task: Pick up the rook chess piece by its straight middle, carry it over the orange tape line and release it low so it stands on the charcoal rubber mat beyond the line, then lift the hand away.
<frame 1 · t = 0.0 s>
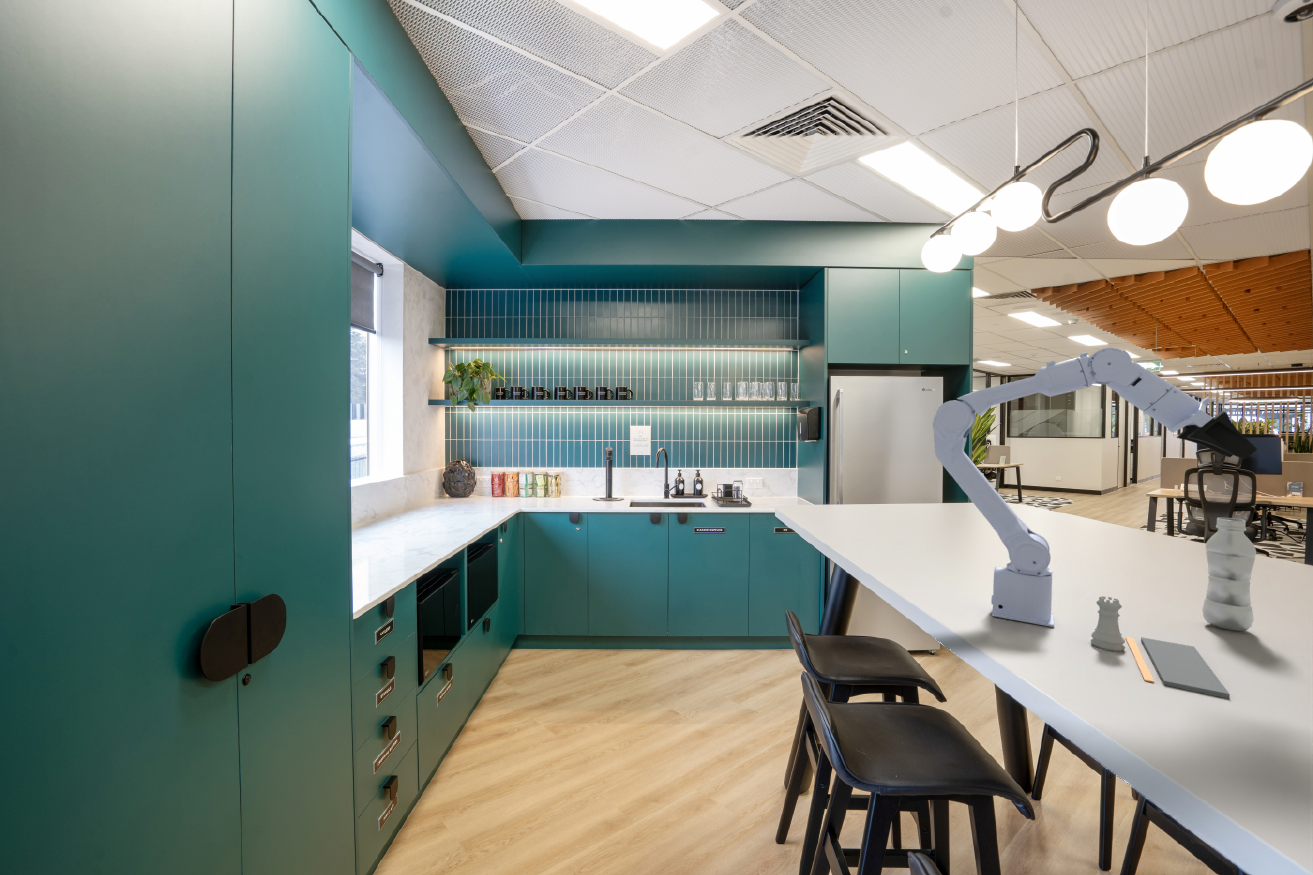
hand: (1242, 453, 88), 32 cm above the table, tool tilted 50°, fingers open, 7 cm apart
throw line: (1138, 658, 86), on the table
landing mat: (1179, 666, 83), on the table
plastic bottle: (1226, 629, 100), on the table
rook chess piece: (1107, 648, 90), on the table
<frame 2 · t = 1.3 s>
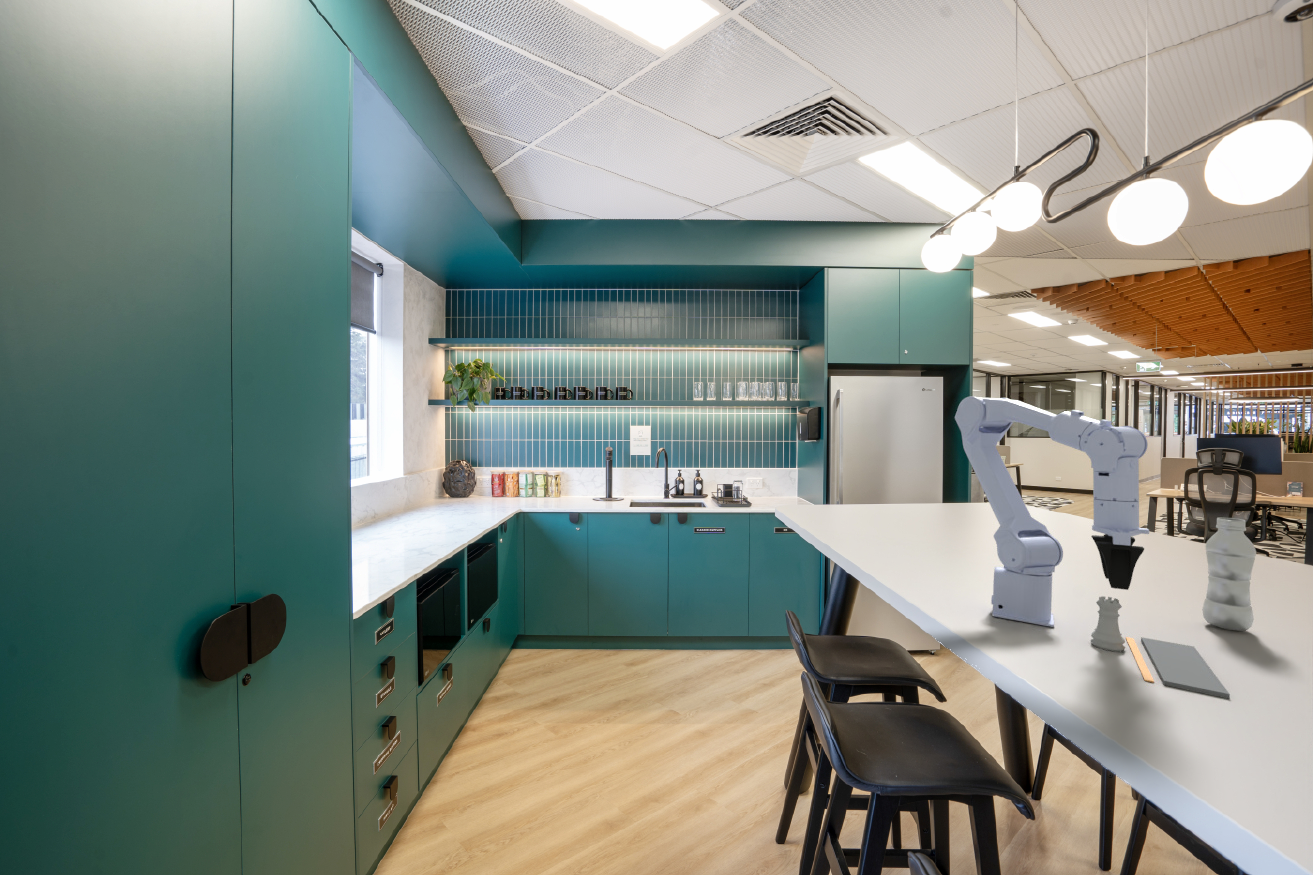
hand: (1116, 583, 89), 11 cm above the table, tool pointing down, fingers open, 7 cm apart
nothing on the table moved.
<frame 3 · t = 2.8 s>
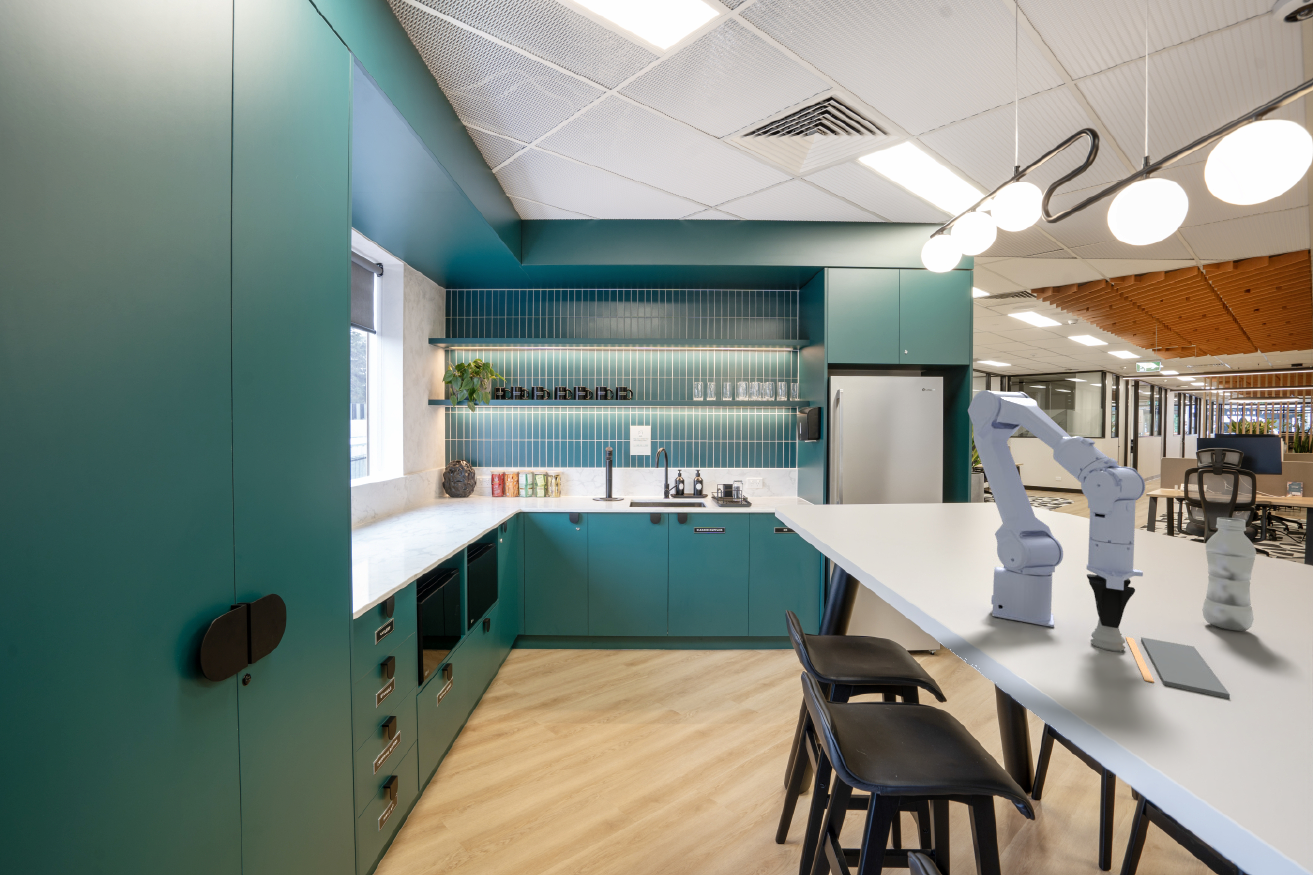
hand: (1108, 623, 90), 4 cm above the table, tool pointing down, fingers closed on rook chess piece, 3 cm apart
rook chess piece: (1107, 647, 90), on the table, touching gripper
everything else where it was.
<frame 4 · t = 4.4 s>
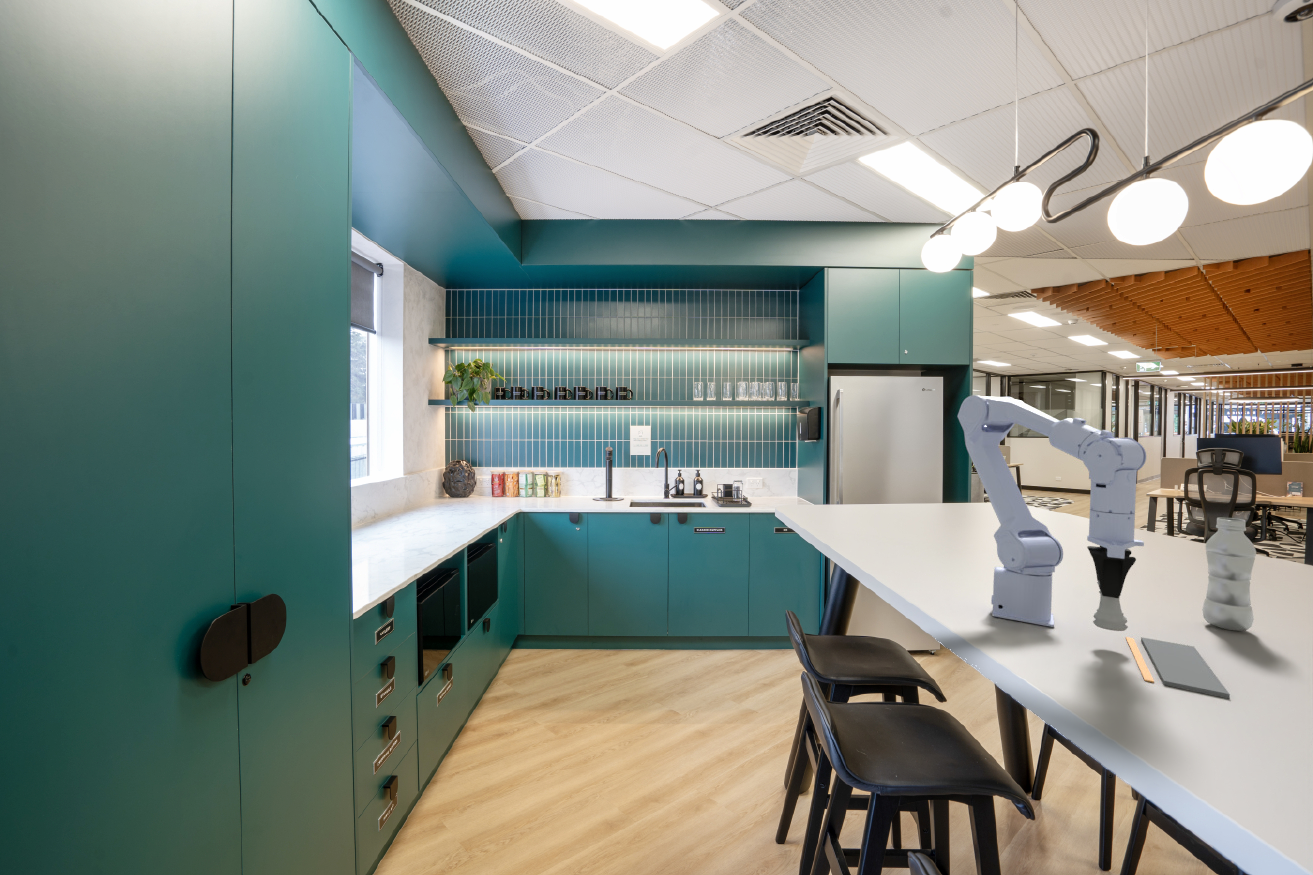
hand: (1109, 593, 90), 9 cm above the table, tool pointing down, fingers closed on rook chess piece, 3 cm apart
rook chess piece: (1110, 628, 90), point 3 cm above the table, touching gripper
everything else where it was.
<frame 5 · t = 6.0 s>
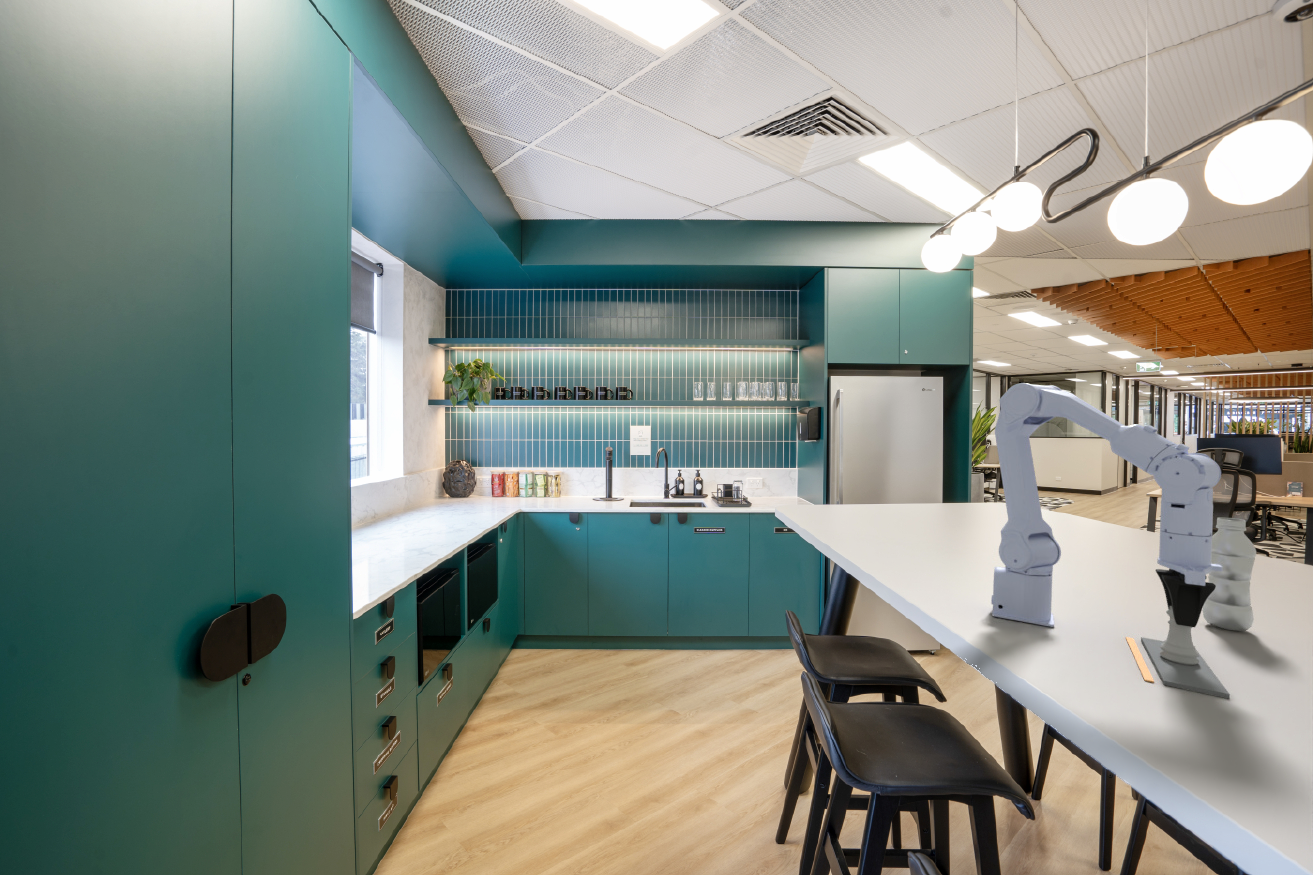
hand: (1182, 621, 84), 7 cm above the table, tool pointing down, fingers closed on rook chess piece, 3 cm apart
rook chess piece: (1178, 661, 84), resting on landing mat, touching gripper
everything else where it was.
when the fingers open (6 cm above the table, at t = 6.9 s): rook chess piece stays where it is, resting on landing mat.
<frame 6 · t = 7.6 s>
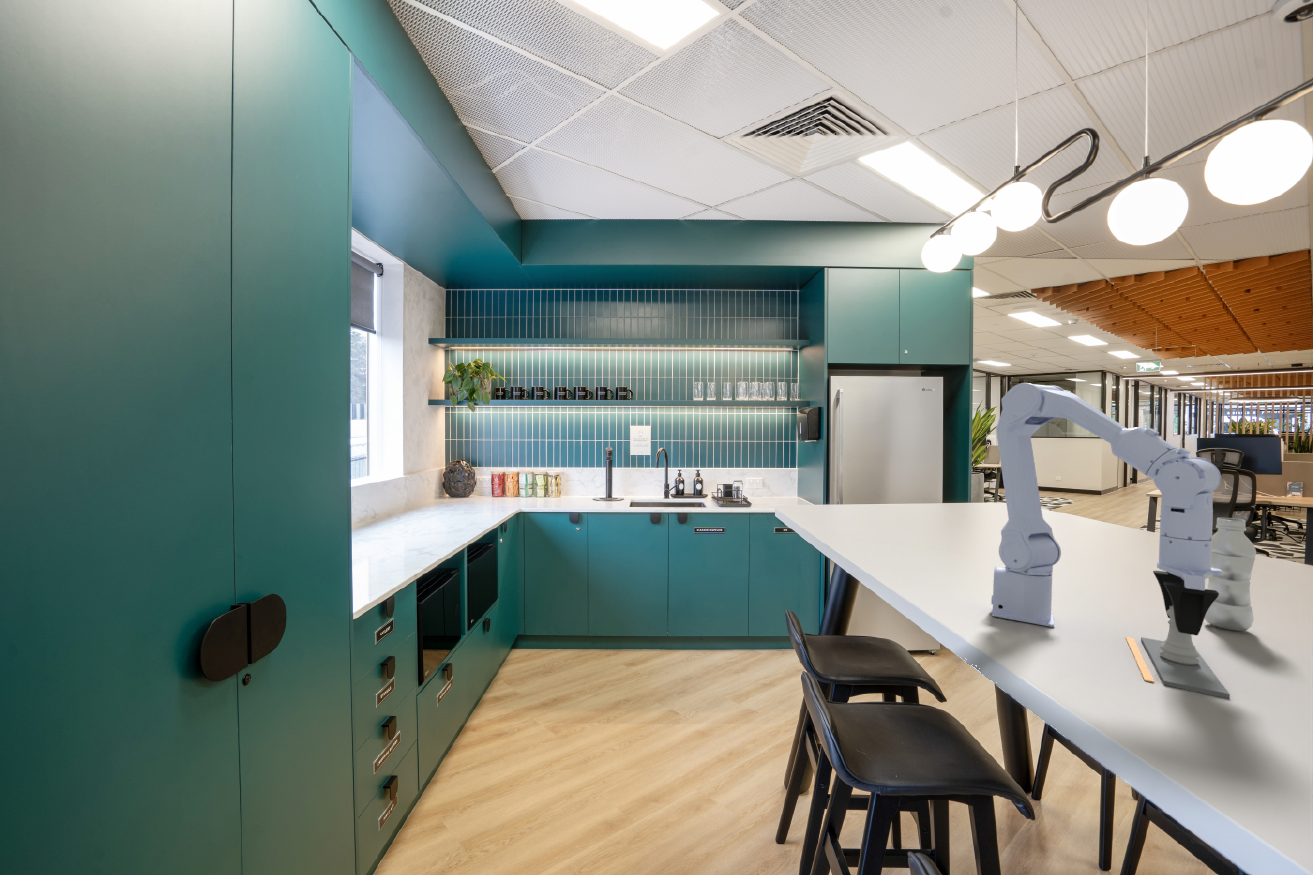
hand: (1182, 625, 84), 6 cm above the table, tool pointing down, fingers open, 7 cm apart
rook chess piece: (1178, 661, 84), resting on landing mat
everything else where it was.
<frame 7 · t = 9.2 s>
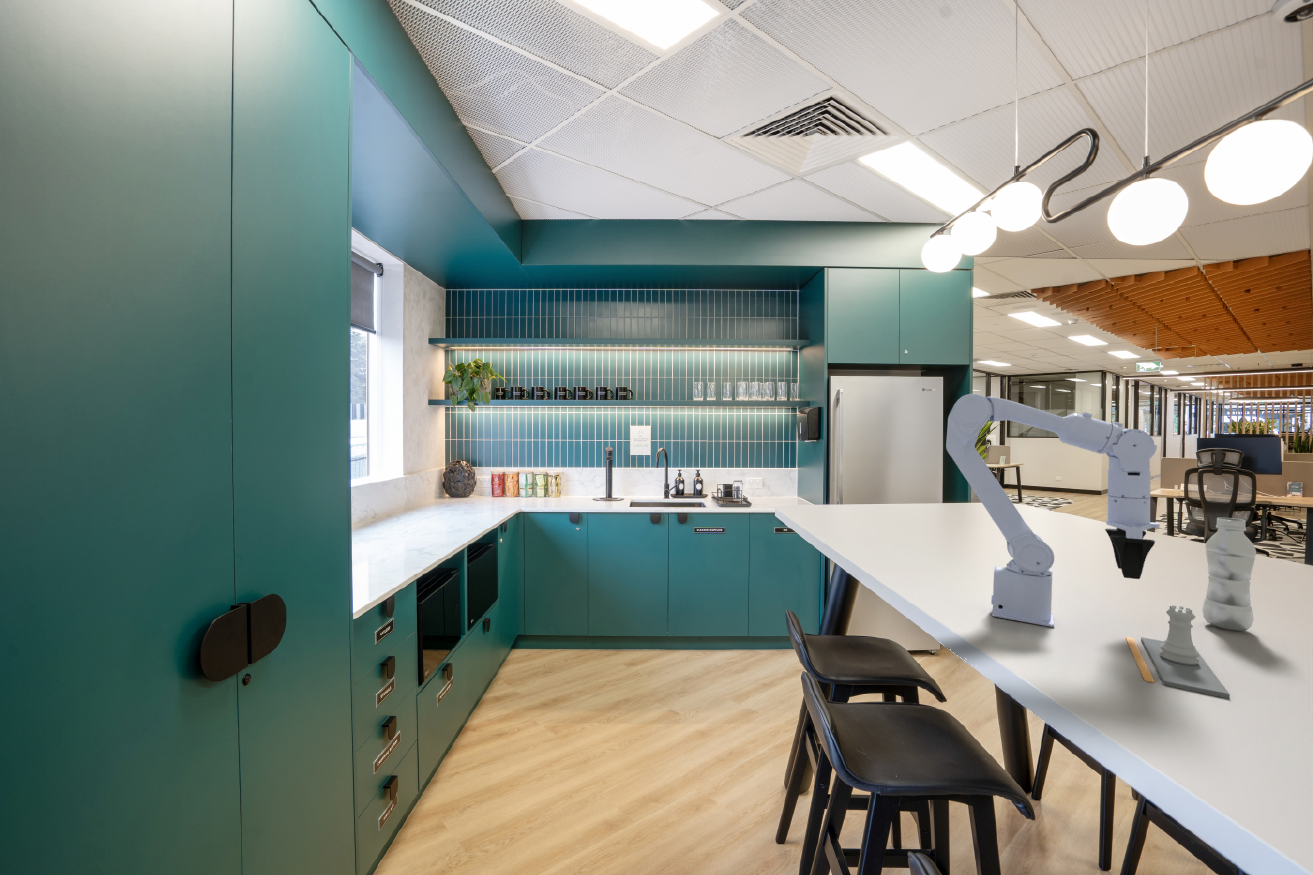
hand: (1128, 573, 97), 10 cm above the table, tool pointing down, fingers open, 7 cm apart
nothing on the table moved.
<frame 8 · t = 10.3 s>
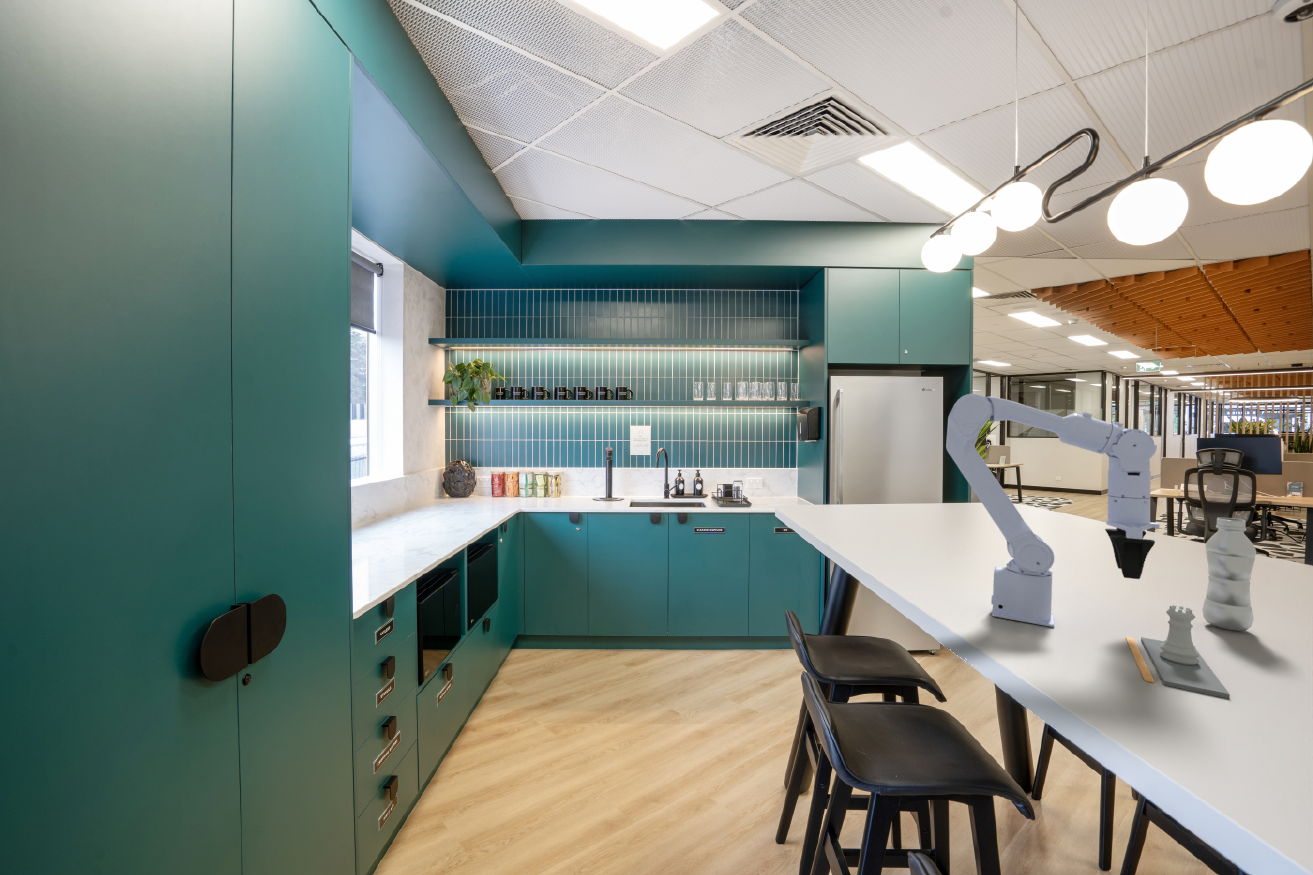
hand: (1128, 573, 97), 10 cm above the table, tool pointing down, fingers open, 7 cm apart
nothing on the table moved.
at the end: rook chess piece inside the target area (1.0 cm from its centre), resting on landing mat; rook chess piece tilted 0°; the gripper is holding nothing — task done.
